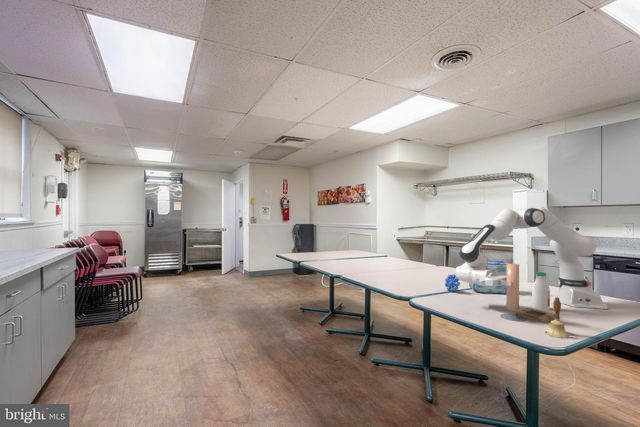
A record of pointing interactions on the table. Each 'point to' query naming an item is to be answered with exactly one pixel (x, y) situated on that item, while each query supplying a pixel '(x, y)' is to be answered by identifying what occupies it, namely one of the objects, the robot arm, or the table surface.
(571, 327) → the table surface
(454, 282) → the grapes
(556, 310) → the hand bell
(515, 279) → the tall peach cylinder
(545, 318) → the pocket block
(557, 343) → the table surface
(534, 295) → the milk bottle
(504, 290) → the lunch box
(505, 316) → the disc
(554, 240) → the robot arm
